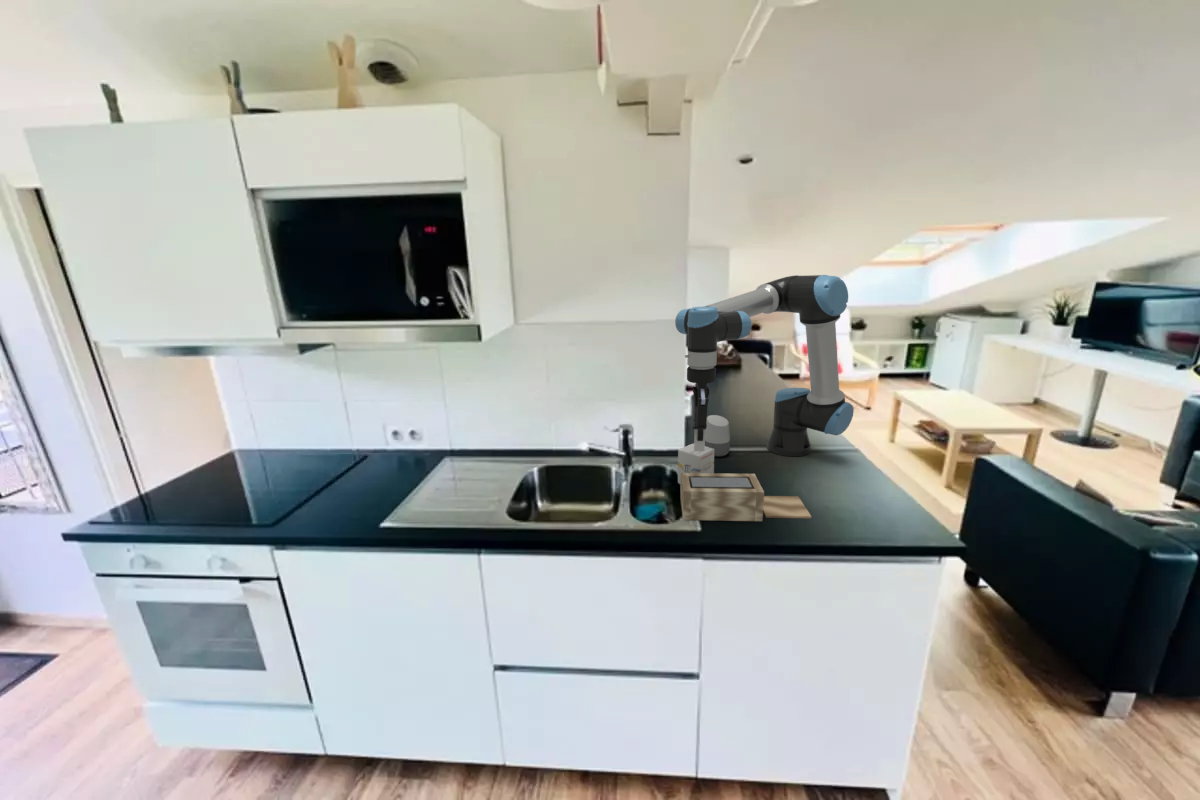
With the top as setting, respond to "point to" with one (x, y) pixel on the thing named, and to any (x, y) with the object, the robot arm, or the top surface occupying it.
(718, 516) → the box
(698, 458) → the ink box
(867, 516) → the top surface
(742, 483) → the grey flat bar
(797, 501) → the pad
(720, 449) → the smart speaker
